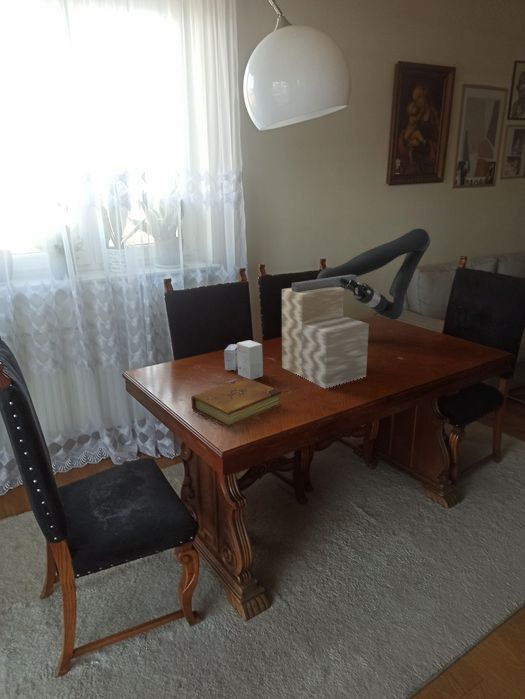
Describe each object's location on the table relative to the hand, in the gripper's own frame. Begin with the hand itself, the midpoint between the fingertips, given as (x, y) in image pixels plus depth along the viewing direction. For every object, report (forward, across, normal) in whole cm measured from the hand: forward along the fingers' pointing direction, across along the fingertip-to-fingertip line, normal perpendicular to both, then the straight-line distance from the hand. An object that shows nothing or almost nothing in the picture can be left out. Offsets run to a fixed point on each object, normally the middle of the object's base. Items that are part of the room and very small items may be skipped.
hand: (342, 280), depth 200 cm
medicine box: (+18, -19, +50) cm, 56 cm away
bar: (+7, 0, +6) cm, 9 cm away
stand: (-4, +7, +37) cm, 37 cm away
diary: (+34, +15, +59) cm, 70 cm away
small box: (+18, -7, +49) cm, 53 cm away
